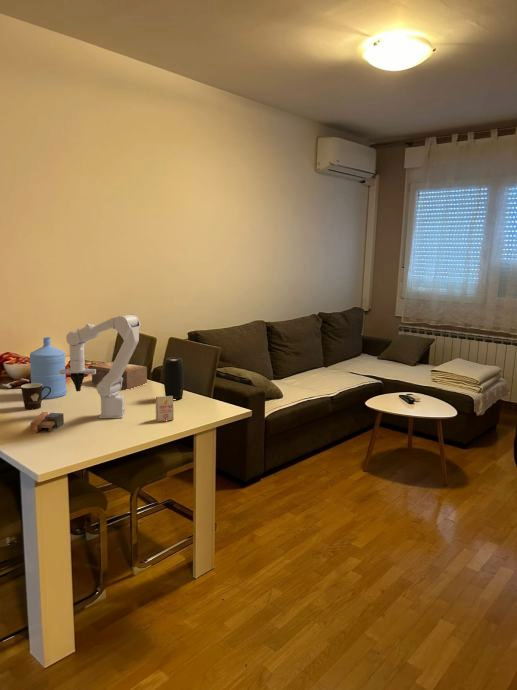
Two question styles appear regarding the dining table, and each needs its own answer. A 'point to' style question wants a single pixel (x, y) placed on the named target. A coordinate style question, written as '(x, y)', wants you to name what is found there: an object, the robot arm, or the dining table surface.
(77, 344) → the robot arm
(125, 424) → the dining table surface
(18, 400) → the dining table surface
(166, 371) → the portable speaker
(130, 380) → the tissue box cover
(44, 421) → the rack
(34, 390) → the coffee mug
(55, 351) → the water jug
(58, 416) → the open storage bin
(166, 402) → the small printed carton
